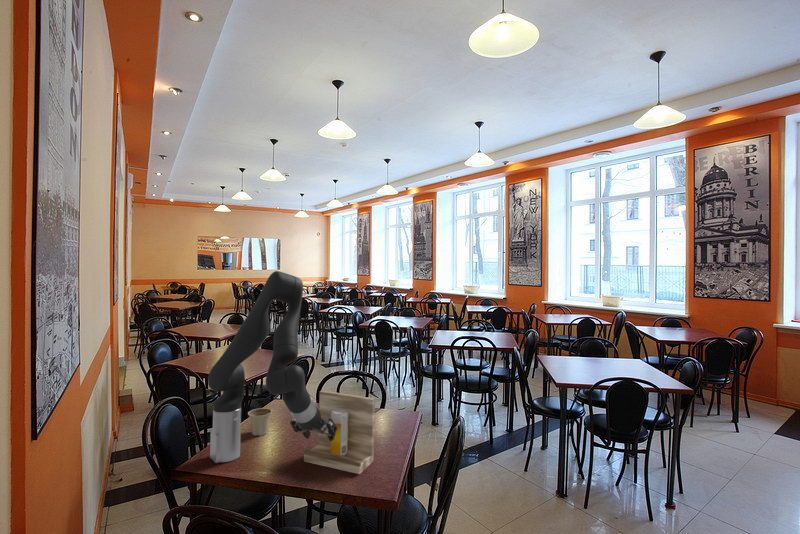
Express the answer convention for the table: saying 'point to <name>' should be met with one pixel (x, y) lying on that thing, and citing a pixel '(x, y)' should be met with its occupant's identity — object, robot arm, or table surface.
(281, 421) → the table surface
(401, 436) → the table surface
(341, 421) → the beer can
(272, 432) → the table surface
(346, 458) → the wall board
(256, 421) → the flower pot
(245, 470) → the table surface
